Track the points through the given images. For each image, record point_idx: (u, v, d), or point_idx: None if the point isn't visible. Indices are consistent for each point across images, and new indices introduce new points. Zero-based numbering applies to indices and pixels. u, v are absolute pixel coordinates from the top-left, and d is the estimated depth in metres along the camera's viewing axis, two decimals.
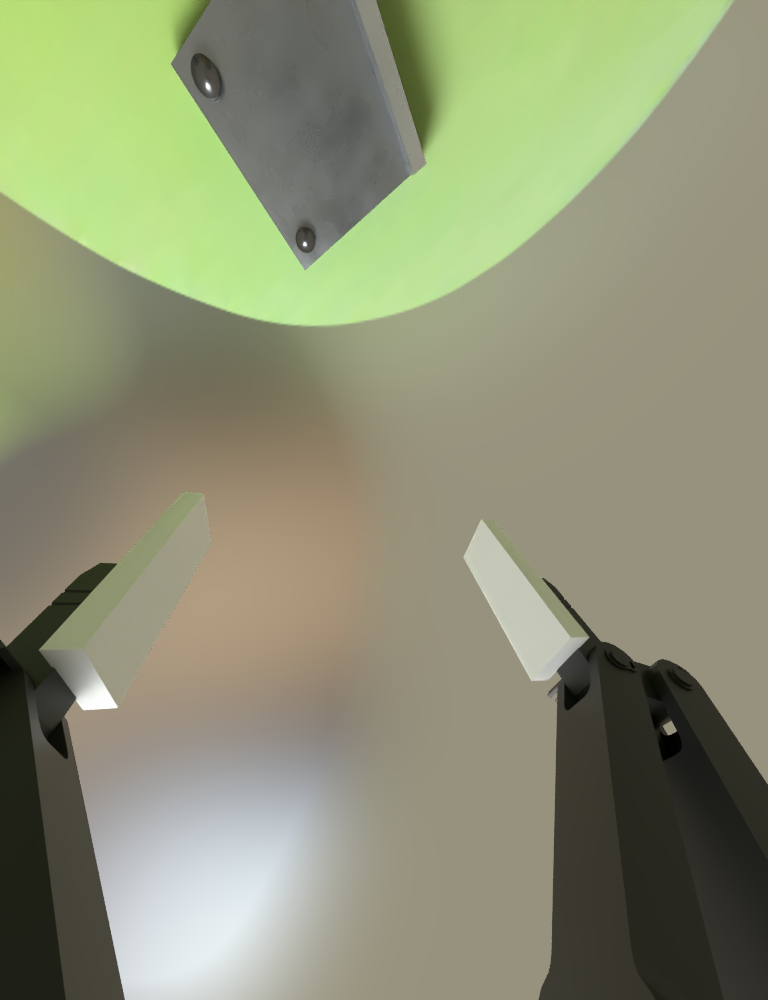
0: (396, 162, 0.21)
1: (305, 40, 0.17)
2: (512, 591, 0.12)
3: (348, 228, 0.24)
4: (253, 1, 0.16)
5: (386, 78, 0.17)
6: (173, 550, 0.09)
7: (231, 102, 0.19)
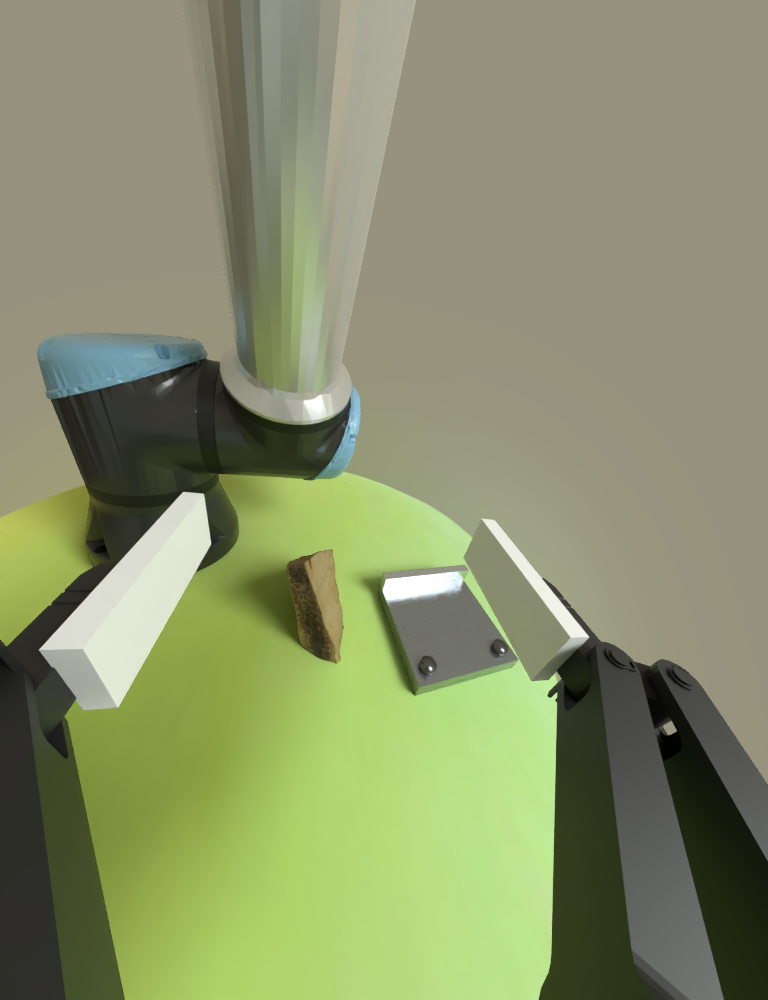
0: (459, 584, 0.37)
1: (419, 608, 0.33)
2: (512, 591, 0.12)
3: (488, 618, 0.33)
4: (407, 625, 0.30)
5: (439, 571, 0.36)
6: (173, 550, 0.09)
7: (436, 659, 0.28)
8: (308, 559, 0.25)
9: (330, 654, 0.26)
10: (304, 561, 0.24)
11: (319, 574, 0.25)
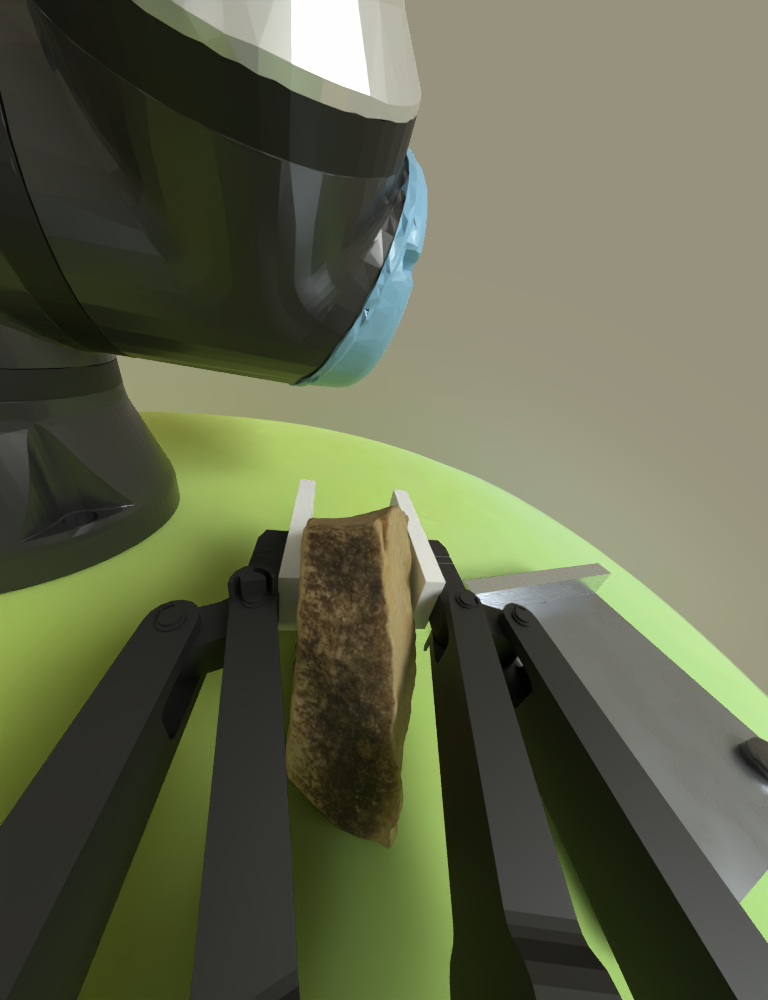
0: (592, 601, 0.20)
1: None
2: None
3: (687, 675, 0.16)
4: None
5: (565, 576, 0.18)
6: None
7: None
8: (379, 517, 0.07)
9: (379, 826, 0.09)
10: (367, 520, 0.07)
11: (396, 575, 0.08)
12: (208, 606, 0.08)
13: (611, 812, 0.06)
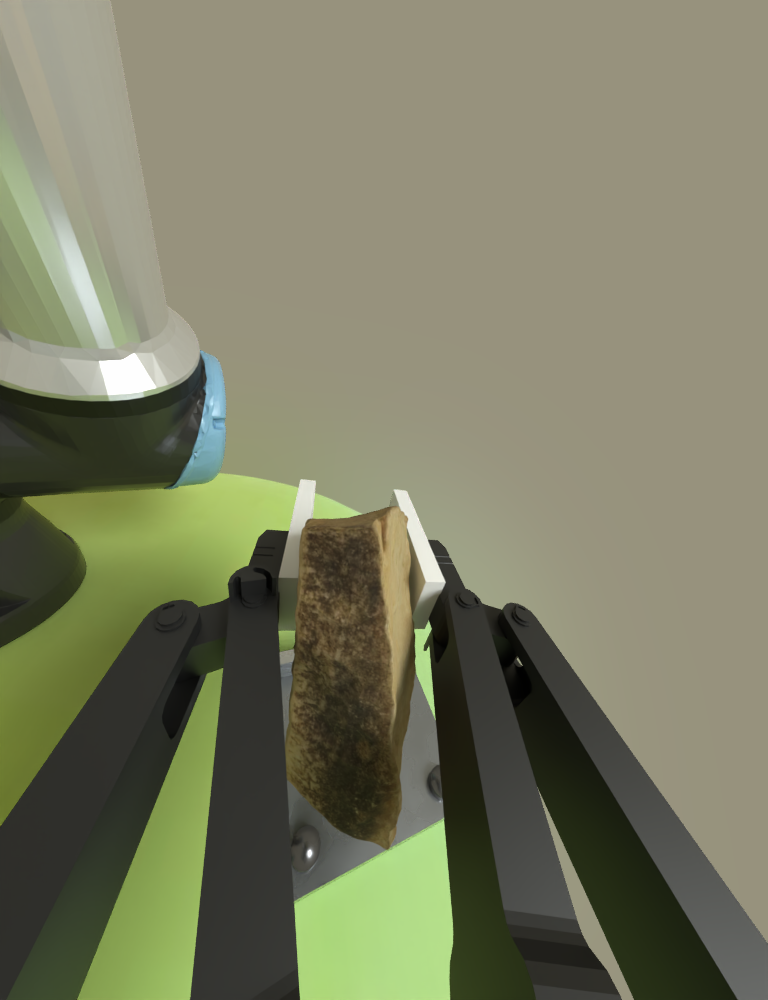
0: None
1: None
2: None
3: (432, 717, 0.22)
4: None
5: None
6: None
7: (327, 824, 0.16)
8: (378, 517, 0.07)
9: (378, 828, 0.09)
10: (366, 521, 0.07)
11: (395, 575, 0.08)
12: (208, 606, 0.08)
13: (611, 812, 0.06)
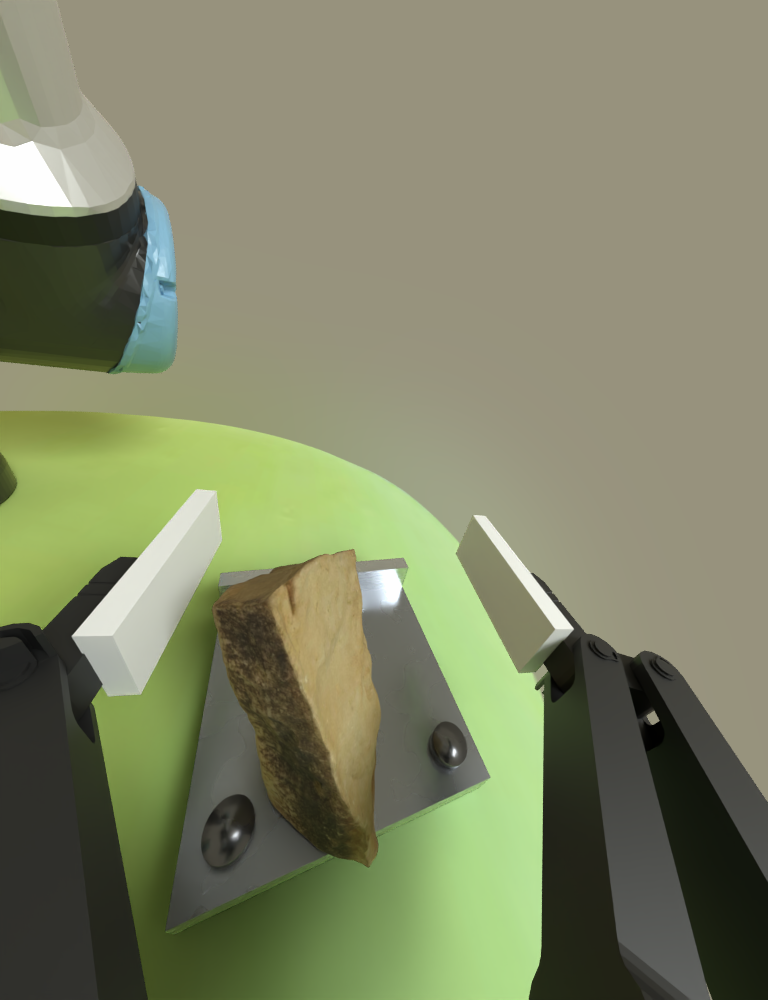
0: (391, 594, 0.20)
1: None
2: (501, 585, 0.12)
3: (436, 665, 0.16)
4: None
5: None
6: (189, 545, 0.10)
7: None
8: (286, 581, 0.08)
9: (352, 850, 0.09)
10: (272, 588, 0.07)
11: (322, 627, 0.08)
12: None
13: (755, 888, 0.05)
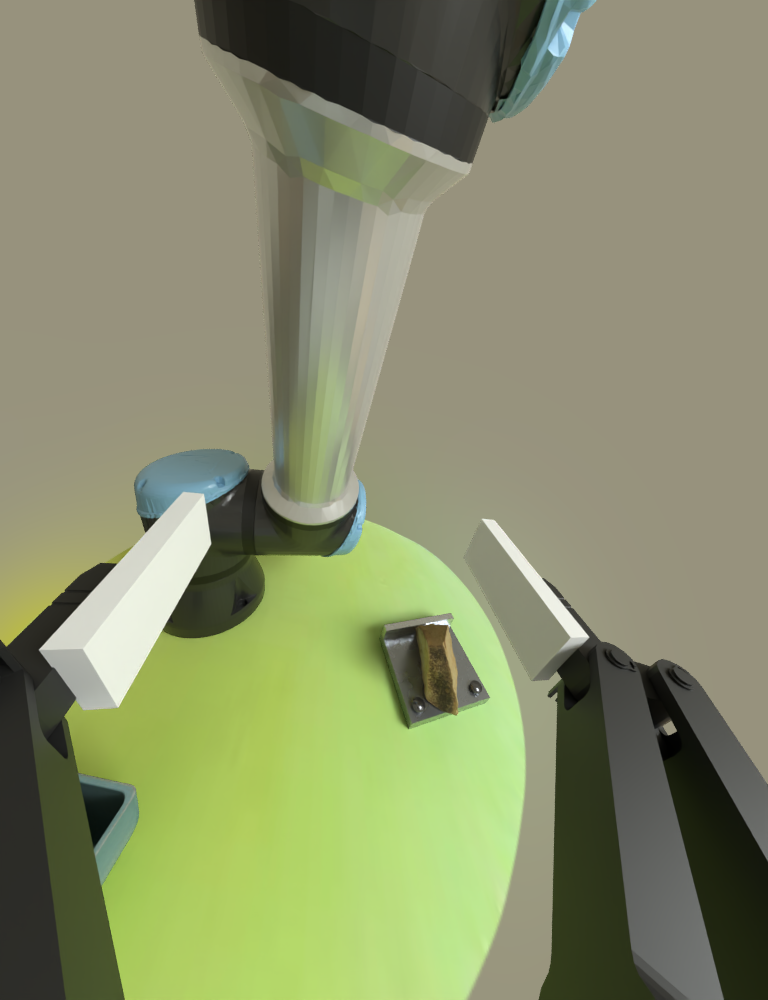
0: None
1: (413, 654, 0.41)
2: (512, 591, 0.12)
3: (468, 661, 0.42)
4: (402, 670, 0.39)
5: (429, 621, 0.44)
6: (173, 550, 0.09)
7: (425, 699, 0.36)
8: (443, 640, 0.33)
9: (453, 709, 0.35)
10: (440, 642, 0.33)
11: (448, 650, 0.34)
12: None
13: None
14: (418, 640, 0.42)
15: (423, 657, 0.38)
